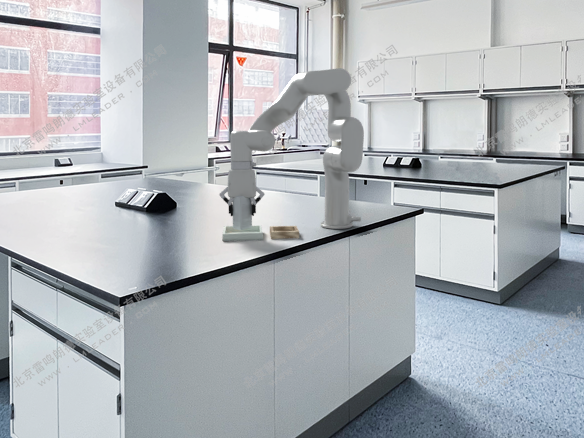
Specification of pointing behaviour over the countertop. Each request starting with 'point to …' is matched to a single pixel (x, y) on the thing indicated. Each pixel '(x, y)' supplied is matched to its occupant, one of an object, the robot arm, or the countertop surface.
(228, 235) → the tray
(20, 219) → the countertop surface
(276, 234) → the wooden square frame
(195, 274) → the countertop surface
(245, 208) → the skincare box
